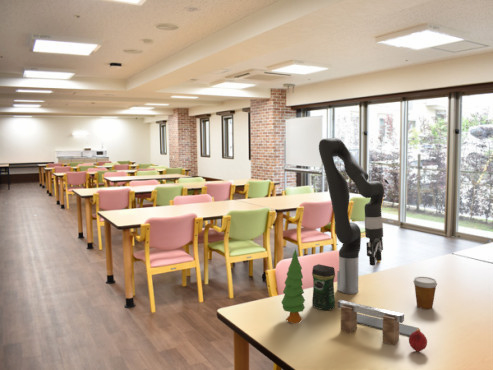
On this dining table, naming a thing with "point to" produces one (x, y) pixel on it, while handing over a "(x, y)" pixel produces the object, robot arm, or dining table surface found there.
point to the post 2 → (390, 330)
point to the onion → (418, 340)
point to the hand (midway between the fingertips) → (375, 262)
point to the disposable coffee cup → (425, 291)
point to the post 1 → (348, 319)
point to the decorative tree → (293, 291)
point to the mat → (379, 324)
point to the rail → (371, 310)
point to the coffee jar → (323, 287)
